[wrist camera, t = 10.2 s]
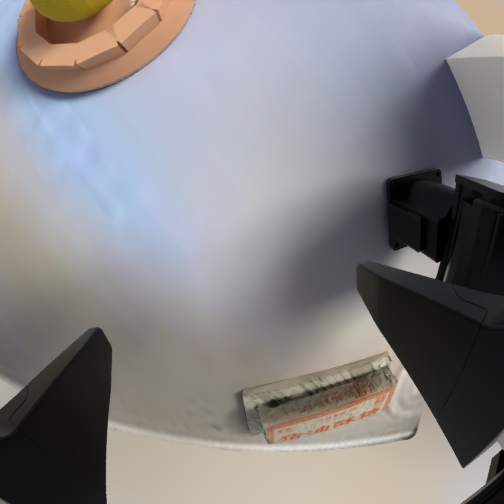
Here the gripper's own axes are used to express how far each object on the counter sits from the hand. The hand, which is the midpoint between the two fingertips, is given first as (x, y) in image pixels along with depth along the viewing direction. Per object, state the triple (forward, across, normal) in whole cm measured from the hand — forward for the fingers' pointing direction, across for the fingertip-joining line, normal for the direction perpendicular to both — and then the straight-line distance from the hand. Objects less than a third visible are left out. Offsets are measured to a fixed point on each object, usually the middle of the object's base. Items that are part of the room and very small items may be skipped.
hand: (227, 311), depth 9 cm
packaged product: (+13, -6, +25) cm, 28 cm away
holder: (+12, +5, -18) cm, 22 cm away
